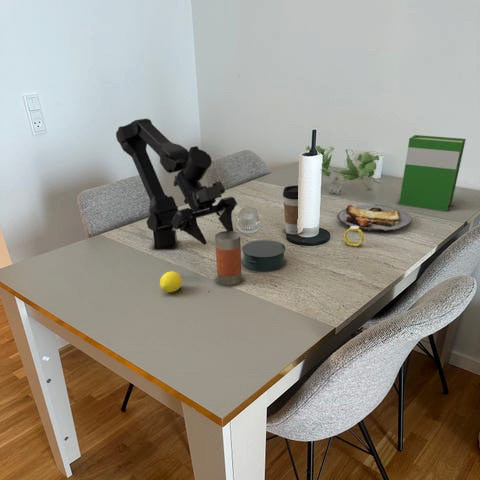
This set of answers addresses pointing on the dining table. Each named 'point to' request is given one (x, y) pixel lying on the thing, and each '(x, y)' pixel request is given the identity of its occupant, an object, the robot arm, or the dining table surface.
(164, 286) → the lemon
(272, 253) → the pot
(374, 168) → the plant cuttings
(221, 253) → the can
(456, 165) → the hardback book
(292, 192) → the coffee cup
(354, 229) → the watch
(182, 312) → the dining table surface
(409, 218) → the food plate
